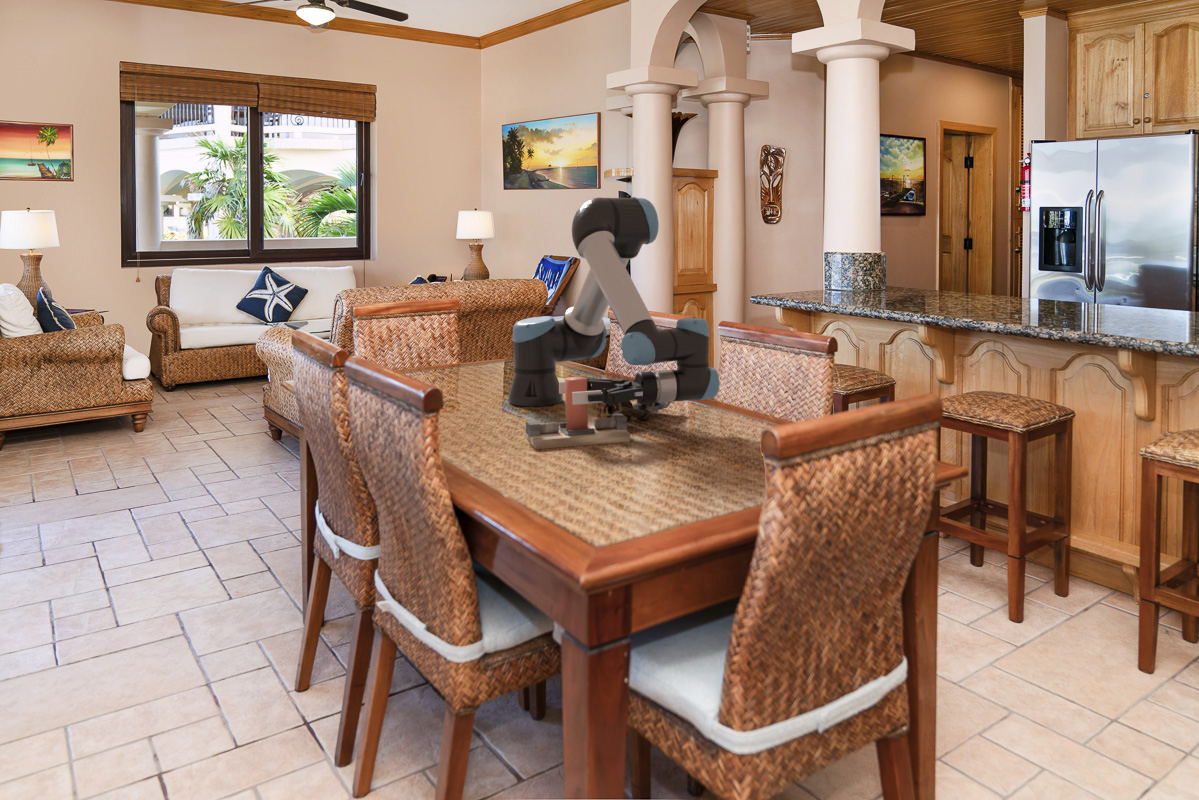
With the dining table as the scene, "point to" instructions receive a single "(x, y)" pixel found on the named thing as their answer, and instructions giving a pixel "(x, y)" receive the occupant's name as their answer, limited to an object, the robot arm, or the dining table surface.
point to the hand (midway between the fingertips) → (565, 393)
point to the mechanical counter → (625, 411)
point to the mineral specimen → (651, 406)
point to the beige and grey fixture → (577, 433)
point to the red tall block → (575, 413)
